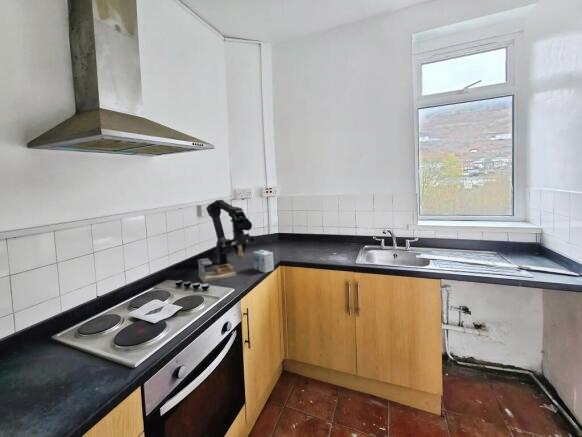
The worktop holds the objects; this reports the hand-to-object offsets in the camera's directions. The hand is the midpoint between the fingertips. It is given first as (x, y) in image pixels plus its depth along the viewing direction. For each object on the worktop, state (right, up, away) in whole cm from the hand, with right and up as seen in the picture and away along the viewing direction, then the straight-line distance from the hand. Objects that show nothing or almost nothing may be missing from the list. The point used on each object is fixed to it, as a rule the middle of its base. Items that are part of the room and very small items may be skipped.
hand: (240, 254), depth 170 cm
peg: (0, -3, 0) cm, 3 cm away
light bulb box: (+15, -9, -5) cm, 18 cm away
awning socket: (-11, -11, -11) cm, 19 cm away
